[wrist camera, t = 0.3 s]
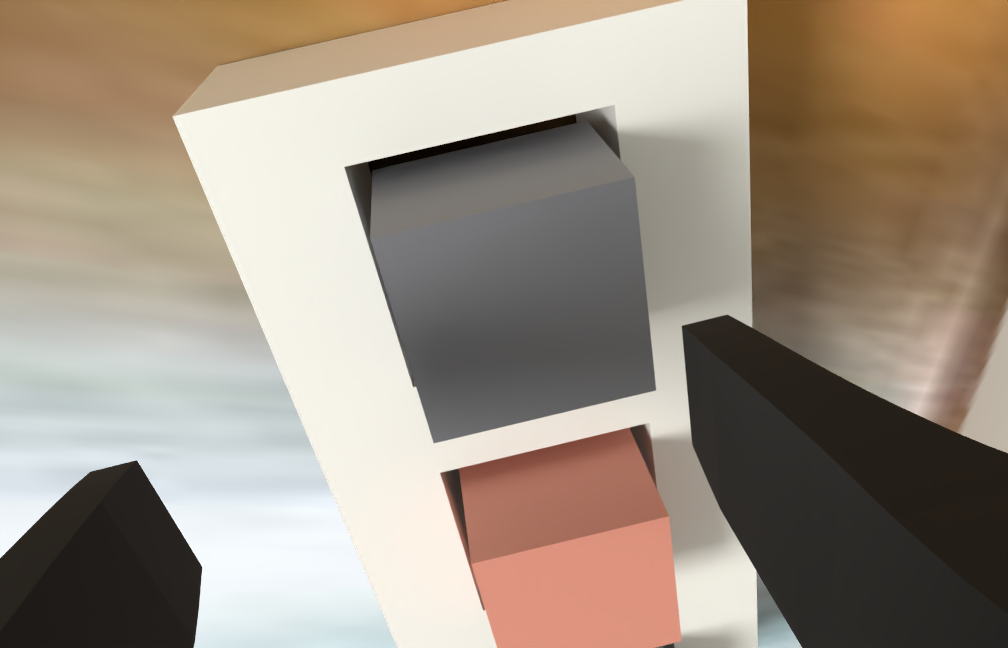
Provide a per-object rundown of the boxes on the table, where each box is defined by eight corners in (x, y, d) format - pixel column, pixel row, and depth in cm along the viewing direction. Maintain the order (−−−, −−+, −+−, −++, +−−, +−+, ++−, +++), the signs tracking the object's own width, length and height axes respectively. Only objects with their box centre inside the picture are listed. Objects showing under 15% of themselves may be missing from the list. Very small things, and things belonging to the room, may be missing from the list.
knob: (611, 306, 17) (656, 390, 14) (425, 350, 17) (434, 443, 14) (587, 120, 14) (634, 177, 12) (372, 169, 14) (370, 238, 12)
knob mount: (713, 627, 28) (758, 730, 25) (453, 691, 28) (463, 803, 25) (670, -37, 16) (746, -15, 13) (217, 66, 16) (172, 116, 13)
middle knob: (641, 539, 21) (681, 641, 18) (491, 576, 20) (508, 683, 18) (626, 421, 18) (668, 516, 16) (457, 461, 18) (470, 564, 16)
